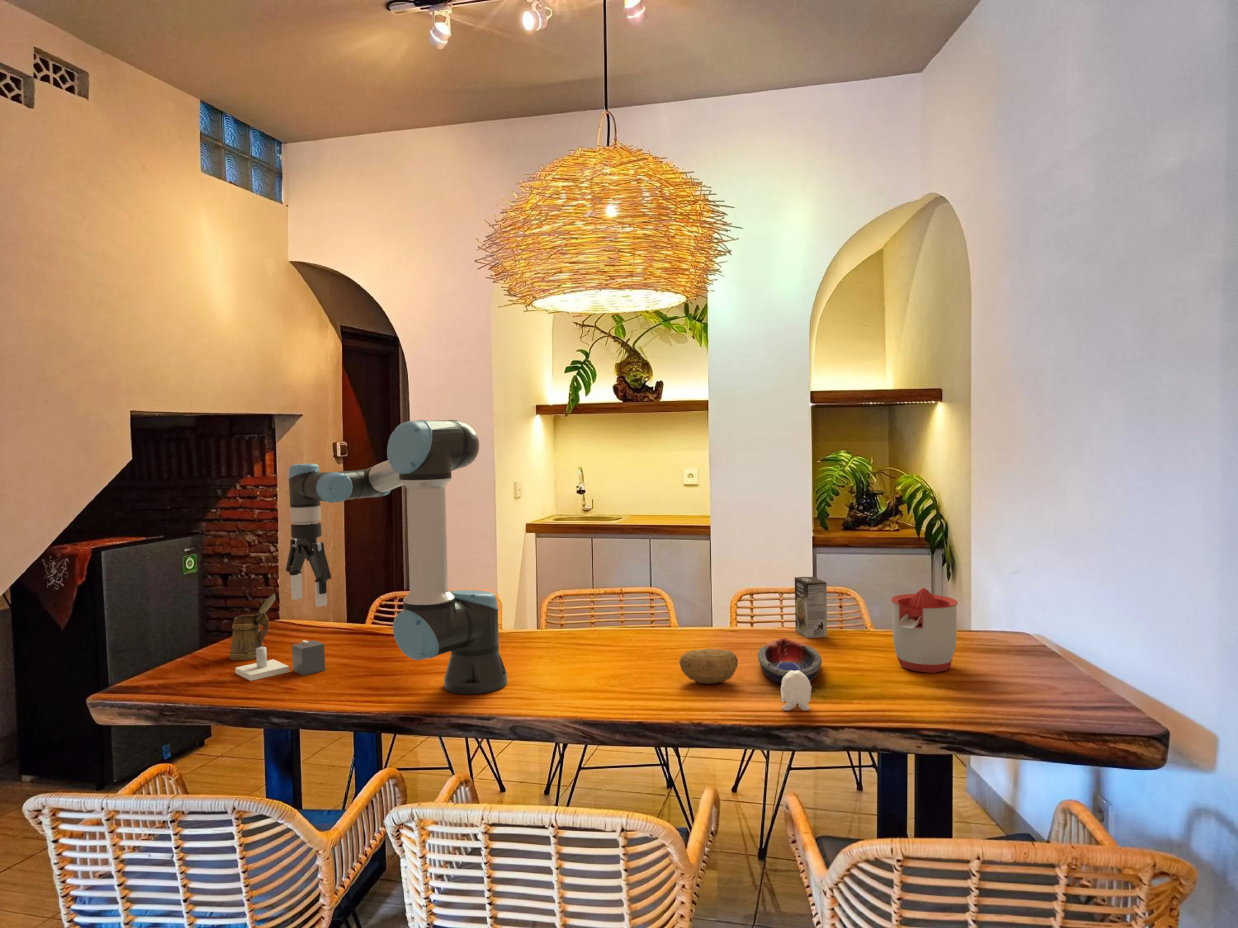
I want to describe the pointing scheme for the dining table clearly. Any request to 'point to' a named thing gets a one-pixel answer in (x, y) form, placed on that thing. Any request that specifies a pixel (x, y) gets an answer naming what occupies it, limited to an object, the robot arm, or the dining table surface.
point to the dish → (788, 659)
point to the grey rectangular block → (308, 657)
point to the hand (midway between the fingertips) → (309, 602)
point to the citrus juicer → (924, 631)
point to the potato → (709, 665)
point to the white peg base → (261, 667)
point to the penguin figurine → (795, 690)
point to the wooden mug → (250, 632)
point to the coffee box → (811, 607)
